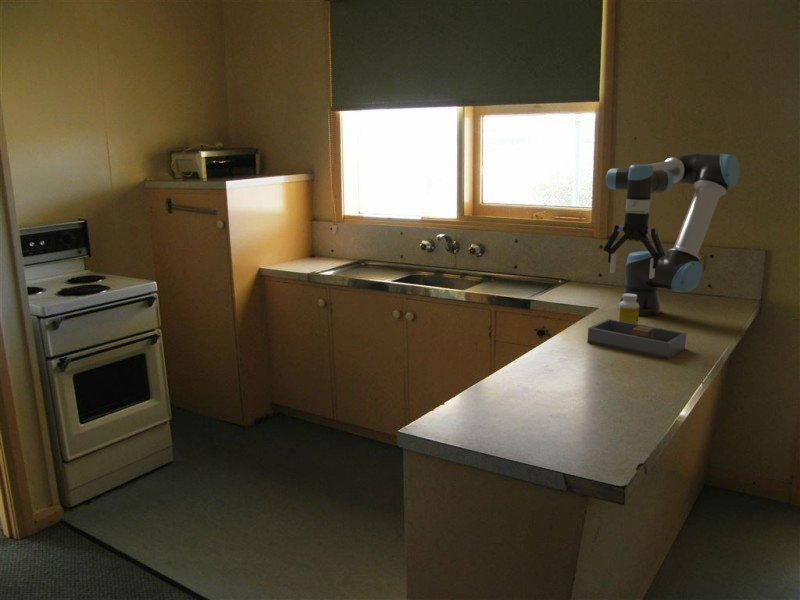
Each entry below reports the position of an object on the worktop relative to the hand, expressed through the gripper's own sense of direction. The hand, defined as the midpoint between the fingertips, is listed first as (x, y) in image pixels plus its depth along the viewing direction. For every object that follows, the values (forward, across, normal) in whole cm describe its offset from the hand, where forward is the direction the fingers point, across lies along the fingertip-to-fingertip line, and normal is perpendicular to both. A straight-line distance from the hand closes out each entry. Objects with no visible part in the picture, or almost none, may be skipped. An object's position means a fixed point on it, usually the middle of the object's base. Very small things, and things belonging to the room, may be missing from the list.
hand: (631, 275), depth 236 cm
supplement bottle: (+20, 0, 0) cm, 20 cm away
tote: (+20, +9, -14) cm, 26 cm away
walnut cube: (+19, +11, -14) cm, 26 cm away
